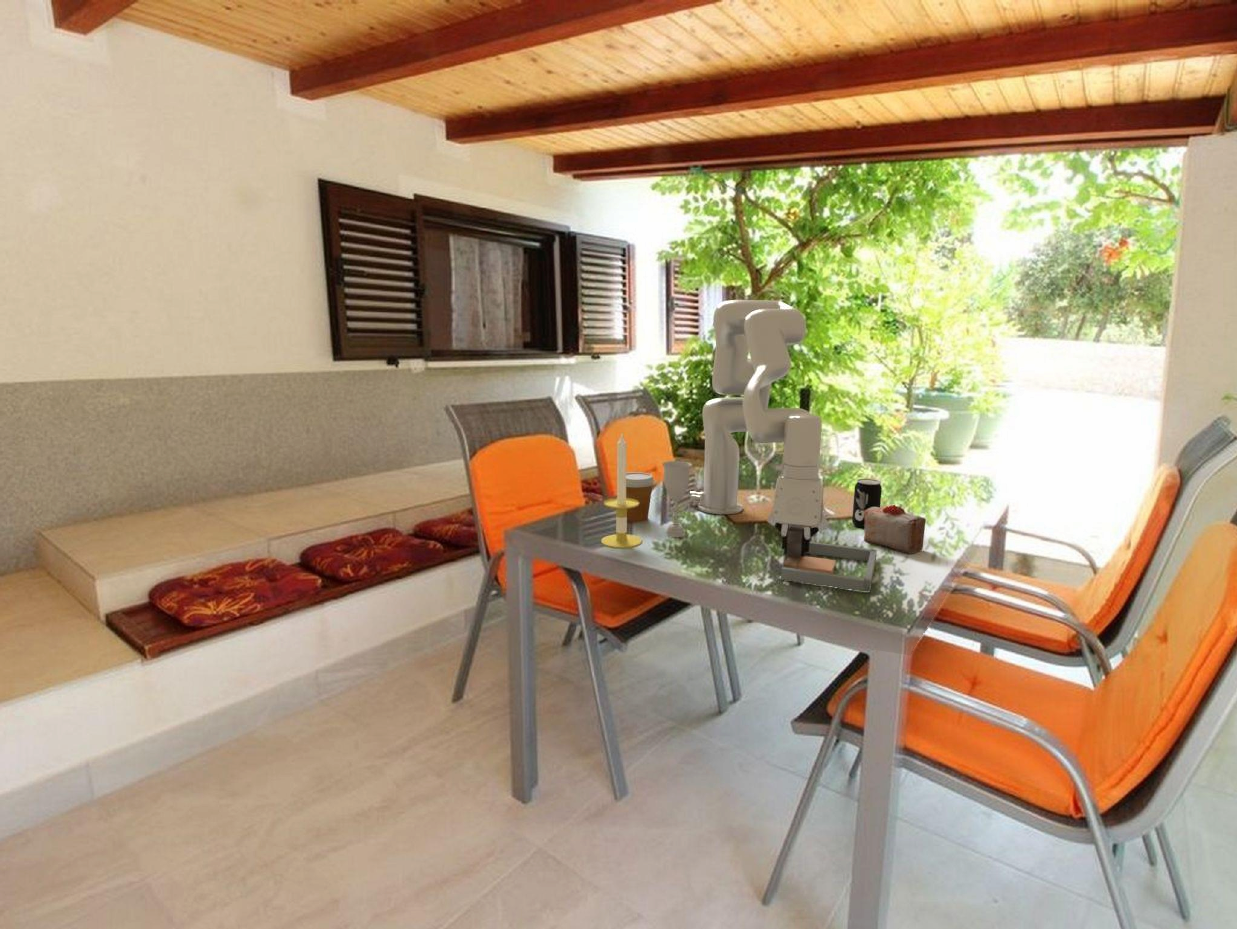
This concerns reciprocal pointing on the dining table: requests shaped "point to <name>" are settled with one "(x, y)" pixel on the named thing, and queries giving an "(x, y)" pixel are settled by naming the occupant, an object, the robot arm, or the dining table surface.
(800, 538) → the scraper
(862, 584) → the frame
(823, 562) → the tile
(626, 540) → the candle
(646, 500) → the disposable coffee cup
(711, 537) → the dining table surface
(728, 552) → the dining table surface
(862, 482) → the beverage can
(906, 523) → the food item
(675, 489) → the chalice
